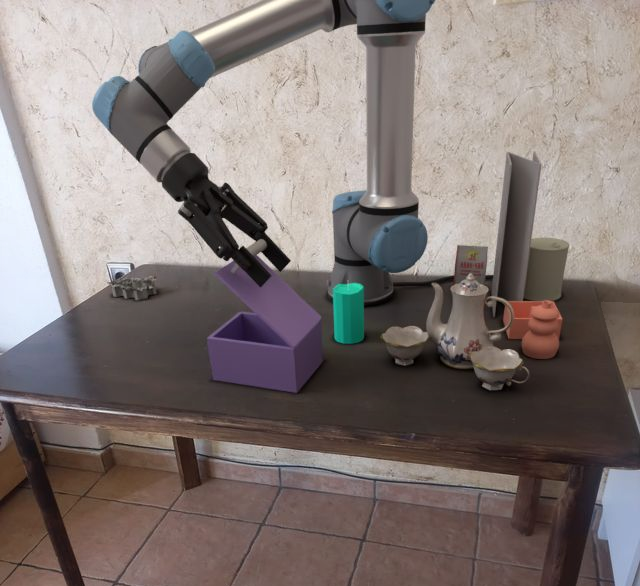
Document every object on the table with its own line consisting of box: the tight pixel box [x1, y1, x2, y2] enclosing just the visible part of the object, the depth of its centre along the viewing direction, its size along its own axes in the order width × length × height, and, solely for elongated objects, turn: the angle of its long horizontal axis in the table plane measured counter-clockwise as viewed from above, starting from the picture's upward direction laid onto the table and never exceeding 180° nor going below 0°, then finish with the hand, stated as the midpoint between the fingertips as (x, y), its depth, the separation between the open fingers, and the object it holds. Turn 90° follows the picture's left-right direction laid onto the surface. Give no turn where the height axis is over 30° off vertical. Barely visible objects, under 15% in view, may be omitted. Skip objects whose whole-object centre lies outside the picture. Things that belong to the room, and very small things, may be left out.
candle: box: [332, 283, 365, 345], centre depth 121 cm, size 6×6×12 cm
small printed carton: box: [452, 244, 489, 286], centre depth 142 cm, size 4×7×10 cm, turn 71°
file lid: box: [213, 239, 322, 348], centre depth 104 cm, size 17×13×5 cm
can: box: [523, 237, 570, 302], centre depth 136 cm, size 9×9×12 cm
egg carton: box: [106, 275, 158, 301], centre depth 150 cm, size 11×8×4 cm
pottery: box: [502, 300, 563, 360], centre depth 117 cm, size 18×10×10 cm, turn 173°
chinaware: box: [379, 273, 530, 391], centre depth 108 cm, size 28×17×17 cm, turn 58°
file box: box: [206, 311, 324, 394], centre depth 112 cm, size 17×13×8 cm
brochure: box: [490, 150, 543, 318], centre depth 127 cm, size 14×6×30 cm, turn 168°
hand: (275, 273), depth 103 cm, fingers closed on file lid, 7 cm apart
